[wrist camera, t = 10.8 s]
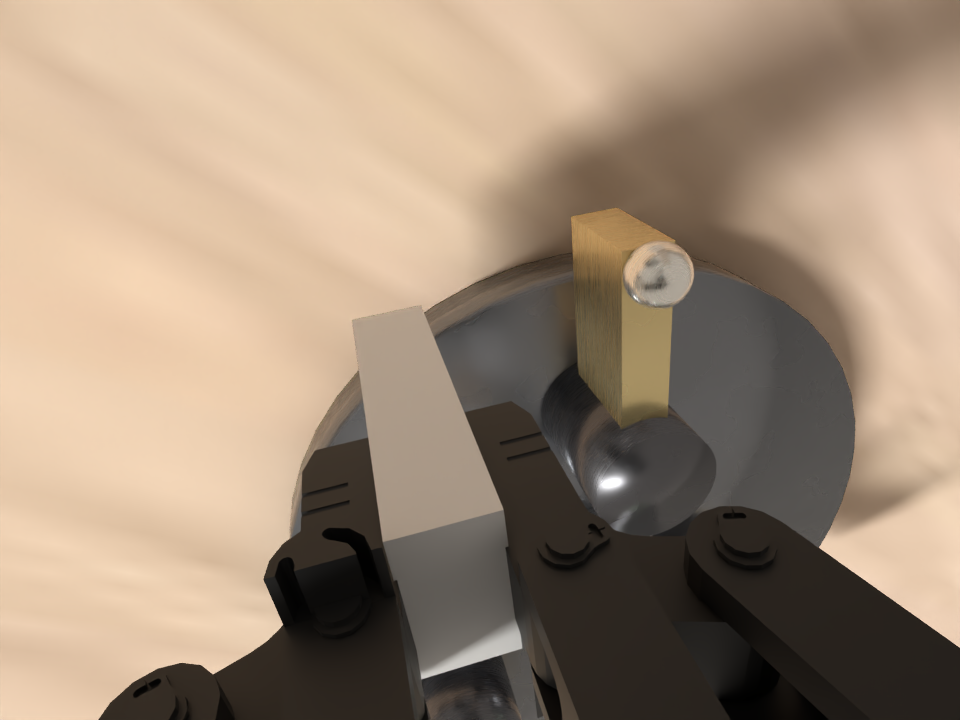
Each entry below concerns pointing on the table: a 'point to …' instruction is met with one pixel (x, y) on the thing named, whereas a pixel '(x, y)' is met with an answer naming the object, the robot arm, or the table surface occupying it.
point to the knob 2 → (627, 379)
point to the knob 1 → (472, 693)
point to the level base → (692, 394)
